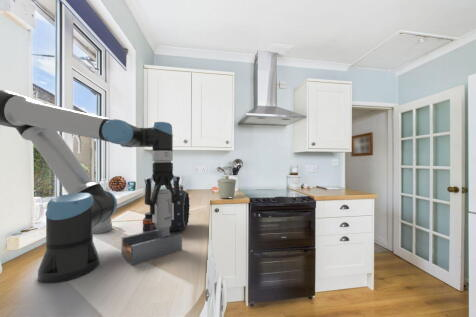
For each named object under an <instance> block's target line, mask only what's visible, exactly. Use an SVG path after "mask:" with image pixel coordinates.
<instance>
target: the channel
mask: <svg viewBox="0 0 476 317" xmlns="http://www.w3.org/2000/svg"><path fill="white" fill-rule="evenodd" d="M182 250H183V234H182V233H181V232H178V233H173V234H170V230H169V229H166V230H152V231H148V232H143V231H142V232H139V233H135V234H130V235H126V236H123V237H122V236H121V255H122V257H124V258H125V260H127V262H128V263H129V264H130V265H131V266H136V265H138V264H142V263H145V262H148V261H151V260H154V259H158V258H160V257H163V256H167V255H169V254H174V253H177V252H178V251H182Z"/></svg>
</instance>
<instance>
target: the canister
mask: <svg viewBox="0 0 476 317" xmlns="http://www.w3.org/2000/svg"><path fill="white" fill-rule="evenodd" d="M216 181H217V187H218V188H217V189H218V197H219V198H220V197H221V198H220V199H222V198H229V197H233V198H234V197H235V191H236V183H237V180H236V179H235V178H229V175H225V176H224V178H219V179H217V180H216Z"/></svg>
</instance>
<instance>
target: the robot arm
mask: <svg viewBox="0 0 476 317" xmlns="http://www.w3.org/2000/svg"><path fill="white" fill-rule="evenodd" d="M0 126H3V127H9V128H14V129H16V130H17V132H18V133H19V135H20V136H21V138H22V139H23V140H26V141H30V142H31V143H32V144H33V146H34V147H35V149H36V150H37V152H38V153H39V155H41V157H42V159H43V160H44V162H45V163H46V164H47V165H48V168H49V169H50V170H51V171H52V173H53V174H54V175H55V177H56V179H57V180H58V181H59V183H60V184H61V186H62V187H63V188H64V191H66V193H67V194H63V195H58V196H56V197H54V198H51V199H50V200H49V201H48V203H47V204H46V210H45V217H46V220H45V221H46V224H45V225H46V230H45V231H46V234H45V238H46V240H45V241H46V242H45V243H46V244H45V251H44V255H43V257H42V259H41V262H40V264H39V267H38V270H37V280H38V281H39V282H41V283H60V282H64V281H65V282H66V281H69V280H73V279H77V278H80V277H81V276H83V275H86V274H88V273H91V272H92V271H94V270H95V269H96V268H97V267H98V266H99V264H100V255H99V254H98V251H97V248H96V246H95V244H94V238H93V237H94V233H93V226H95V225H97V224H99V223H101V222H104V221H106V220H107V219H109V218H110V217H112V216H113V215H114V214H115V212H116V210H117V208H118V201H117V197H116V196H115V195H114V194H113V193H112V192H111V191H107V190H105V189H104V188H103V186H102V185H101V183H100V182H94V181H93V179H92V178H91V177H90V176H89V174H88V172H87V171H86V170H85V167H83V165H82V164H81V162H80V161H79V160H78V158H77V157H76V155H75V153H74V152H73V151H72V149H71V148H70V146H69V145H68V144H67V142H66V141H65V139H64V138H63V136H62V135H61V134H60V132H61V133H65V134H70V135H75V136H80V137H85V138H89V139H95V140H99V141H104V142H108V143H111V144H115V145H120V146H121V147H123V148H152V161H153V162H152V175H151V176H150V177H145V178H144V183H145V188H144V190H145V191H144V204H145V205H147V206H149V212H150V214H152V222H153V223H157V206H156V205H155V203H156V200H157V196H158V193H159V190H160V189H162V186H165V189H169V190H170V192H171V220H174V211H175V209H176V205H175V203H177V201H179V200H180V191H179V190H180V179H181V177H180V176H176V175H174V173H173V171H174V165H173V164H174V163H173V162H172V161H174V160H173V159H174V158H173V157H174V156H173V155H174V154H173V153H174V151H173V148H174V147H173V145H174V144H173V142H174V141H173V138H174V134H173V125H172V124H171V123H170V122H166V121H155V122H153V123H152V126H151V127H137V126H135V125H132V124H130V123H128V122H126V121H124V120H121V119H117V118H115V119H114V118H113V119H112V118H108V117H104V116H100V115H99V116H98V115H95V114H90V113H86V112H81V111H77V110H74V109H73V110H72V109H67V108H63V107H58V106H54V105H50V104H48V103H45V102H43V101H41V100H37V99H33V98H31V97H27V96H25V95H22V94H18V93H16V92H13V91H9V90H3V89H0ZM172 181H173V185H172ZM153 182H154V184H153V185H154V186H153V190H152V183H153ZM173 190H174V193H173Z"/></svg>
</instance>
